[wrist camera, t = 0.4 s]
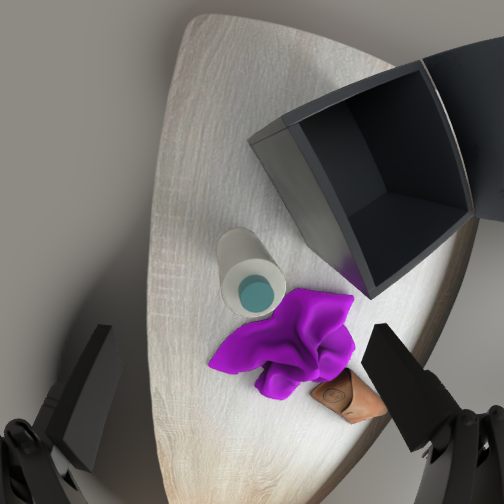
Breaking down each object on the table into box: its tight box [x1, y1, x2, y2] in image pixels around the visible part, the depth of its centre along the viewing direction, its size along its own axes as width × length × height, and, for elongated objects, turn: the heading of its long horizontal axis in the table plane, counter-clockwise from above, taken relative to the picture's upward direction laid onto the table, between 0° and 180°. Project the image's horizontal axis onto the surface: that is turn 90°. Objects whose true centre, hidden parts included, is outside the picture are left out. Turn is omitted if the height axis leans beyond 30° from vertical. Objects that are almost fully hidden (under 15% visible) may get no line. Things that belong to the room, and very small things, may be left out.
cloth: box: [208, 288, 355, 400], centre depth 35 cm, size 22×19×6 cm
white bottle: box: [217, 228, 286, 317], centre depth 27 cm, size 5×5×12 cm
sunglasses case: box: [310, 368, 387, 424], centre depth 42 cm, size 18×7×7 cm
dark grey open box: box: [247, 60, 474, 300], centre depth 24 cm, size 14×15×15 cm
